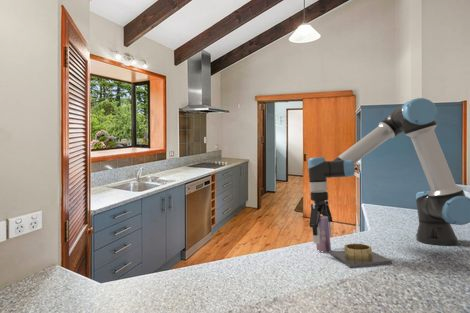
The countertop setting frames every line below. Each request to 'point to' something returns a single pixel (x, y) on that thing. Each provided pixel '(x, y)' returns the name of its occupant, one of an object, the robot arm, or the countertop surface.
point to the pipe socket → (359, 256)
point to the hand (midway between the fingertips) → (322, 239)
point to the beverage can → (324, 235)
